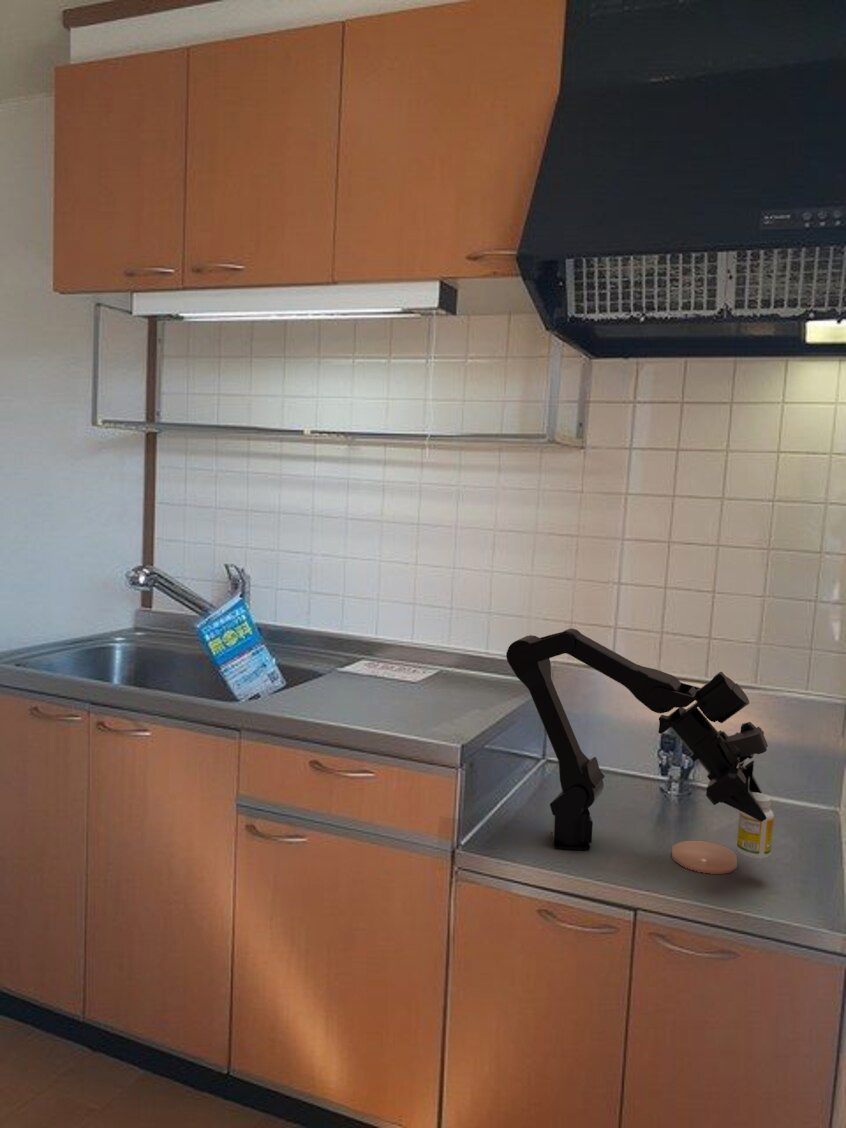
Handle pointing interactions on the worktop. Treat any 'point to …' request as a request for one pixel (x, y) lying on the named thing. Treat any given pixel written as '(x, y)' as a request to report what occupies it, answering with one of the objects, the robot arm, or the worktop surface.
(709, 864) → the saucer
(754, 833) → the supplement bottle
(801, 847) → the worktop surface
